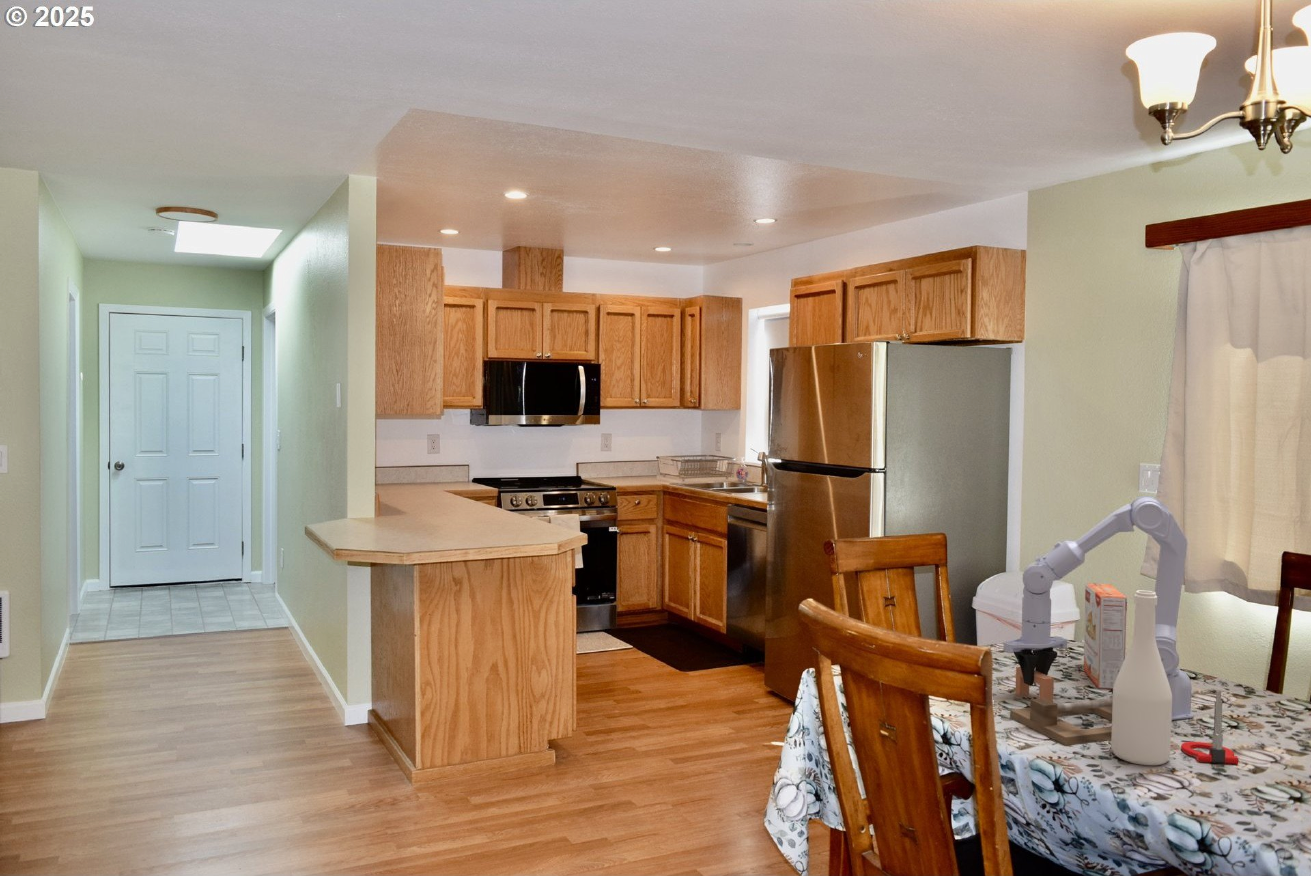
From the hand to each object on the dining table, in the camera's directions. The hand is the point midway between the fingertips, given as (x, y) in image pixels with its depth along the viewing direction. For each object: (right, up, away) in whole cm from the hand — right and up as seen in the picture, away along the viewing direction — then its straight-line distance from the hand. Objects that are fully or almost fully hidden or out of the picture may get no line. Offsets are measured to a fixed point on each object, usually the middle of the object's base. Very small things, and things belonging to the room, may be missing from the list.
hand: (1034, 683), depth 209 cm
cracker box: (+21, -3, +14) cm, 25 cm away
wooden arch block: (0, -3, 0) cm, 3 cm away
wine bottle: (+7, -6, -32) cm, 33 cm away
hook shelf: (+5, -4, -15) cm, 16 cm away
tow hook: (+20, -6, -30) cm, 37 cm away
